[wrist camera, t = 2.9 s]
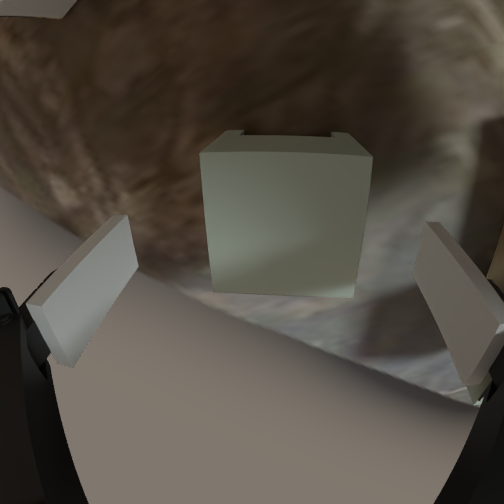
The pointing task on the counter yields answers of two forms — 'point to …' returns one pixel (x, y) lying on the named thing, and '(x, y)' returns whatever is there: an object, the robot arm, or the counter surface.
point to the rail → (500, 274)
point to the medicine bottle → (35, 8)
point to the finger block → (285, 213)
